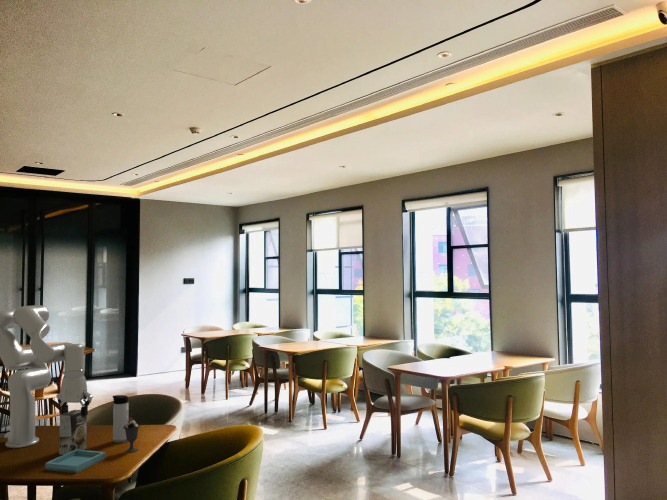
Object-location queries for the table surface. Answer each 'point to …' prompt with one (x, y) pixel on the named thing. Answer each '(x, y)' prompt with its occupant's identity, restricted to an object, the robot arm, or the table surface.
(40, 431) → the table surface
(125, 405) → the travel mug
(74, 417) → the coffee box
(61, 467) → the tray
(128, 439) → the sundae
